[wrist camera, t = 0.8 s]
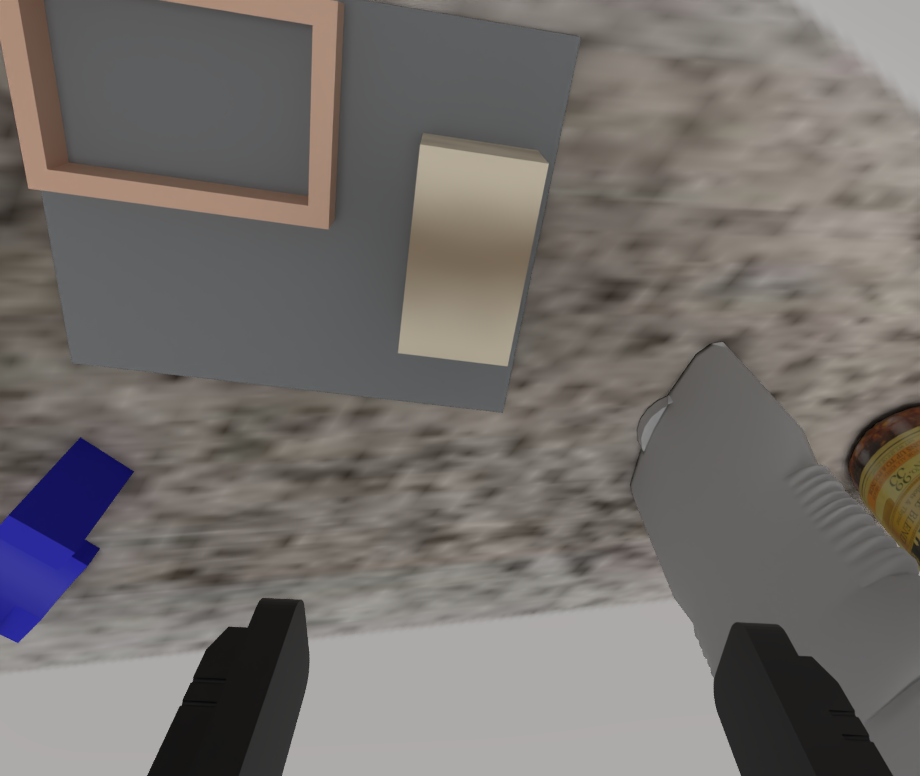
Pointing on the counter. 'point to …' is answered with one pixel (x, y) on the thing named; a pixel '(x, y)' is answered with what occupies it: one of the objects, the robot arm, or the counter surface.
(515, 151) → the beige rectangular prism
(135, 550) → the counter surface
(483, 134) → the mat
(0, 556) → the cable clip
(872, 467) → the sauce bottle
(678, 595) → the tall pale column
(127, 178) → the frame
